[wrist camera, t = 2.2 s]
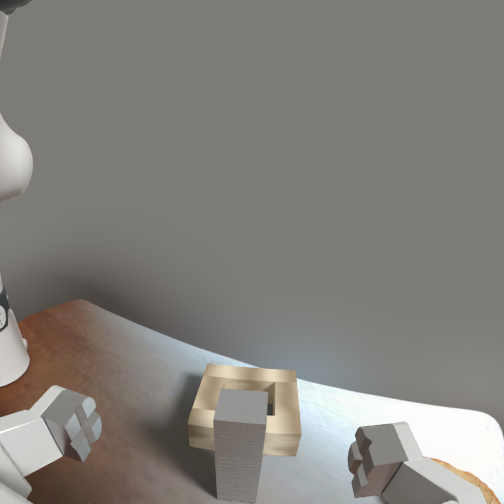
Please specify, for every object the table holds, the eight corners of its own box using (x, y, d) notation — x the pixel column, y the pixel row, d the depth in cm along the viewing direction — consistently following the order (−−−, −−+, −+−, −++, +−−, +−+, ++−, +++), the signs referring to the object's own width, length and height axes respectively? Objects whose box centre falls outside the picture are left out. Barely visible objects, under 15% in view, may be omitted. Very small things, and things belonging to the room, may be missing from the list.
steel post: (217, 499, 23) (213, 419, 20) (222, 473, 27) (220, 387, 24) (255, 503, 23) (266, 424, 20) (257, 476, 27) (267, 391, 24)
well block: (189, 446, 31) (186, 424, 30) (208, 386, 43) (207, 363, 42) (295, 456, 30) (301, 434, 29) (291, 392, 43) (295, 370, 42)
